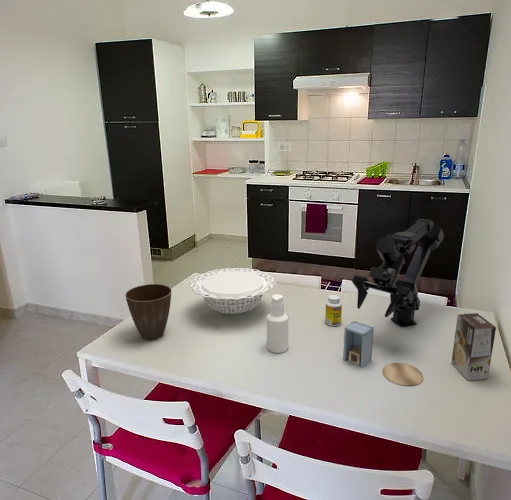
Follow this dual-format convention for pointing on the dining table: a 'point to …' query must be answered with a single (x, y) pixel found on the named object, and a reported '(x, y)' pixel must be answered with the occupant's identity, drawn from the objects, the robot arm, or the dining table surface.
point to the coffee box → (473, 346)
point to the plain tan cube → (355, 355)
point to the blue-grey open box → (358, 341)
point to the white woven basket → (232, 288)
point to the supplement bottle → (333, 311)
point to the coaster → (402, 374)
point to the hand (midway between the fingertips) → (371, 312)
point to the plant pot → (149, 309)
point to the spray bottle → (277, 326)
